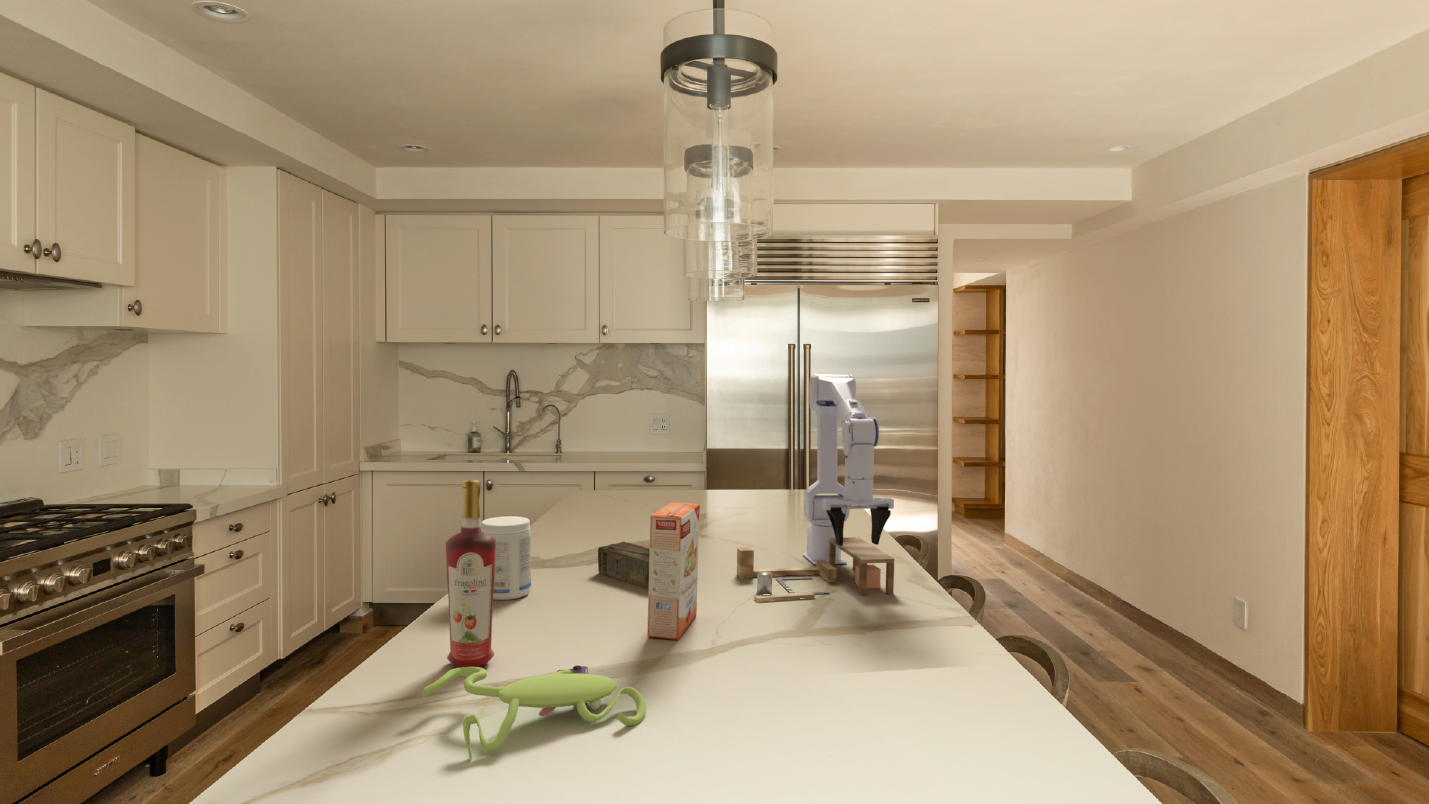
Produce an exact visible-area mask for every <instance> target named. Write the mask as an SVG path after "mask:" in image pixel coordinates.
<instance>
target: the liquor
mask: <svg viewBox="0 0 1429 804" xmlns="http://www.w3.org/2000/svg"><path fill="white" fill-rule="evenodd" d="M480 494H481V480H478V479H466V480H462V481H461V496H462V500H463V501H462V502H463V503H462V504H463V505H462V513H461V514H462V515H461V525H460V532H458V533H456V534H454V535H452V536H451V537H449V538H448V539H447V540H446V541H445V554H446V555H445V557H446V558H445V560H446V561H445V562H446V580H447V582H446V583H447V595H448V596H447V599H448V616H449V620H448V621H449V649H450V650H449V653H448V655H447V657H446V660H447V661H449V662H450V663H451V664H452V666H453V665H454V667H456V668H461V667H480V668H483V667H485V666H486V665H487V664H488V663H489V662H490V660H492V658H493V657H494V656H495V652H494V651H493V649H492V638H493V637H492V632H493V631H492V630H493V629H492V628H493V607H494V606H493V605H494V604H493V603H494V599H493V591H494V577H495V554H496V539H494V538H493V537H492V536H491V535H489V534H487V533H484V532H482V531H481V523H482V519H481V512H480V511H481V510H480V498H481V497H480Z"/></svg>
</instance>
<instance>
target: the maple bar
mask: <svg viewBox="0 0 1429 804" xmlns="http://www.w3.org/2000/svg"><path fill="white" fill-rule="evenodd" d="M812 592H813V591H810V592H809V591H808V592H806V593H802V592H795V593H778V594H777V593H776V594H775V593H774V594H771V595H759V594H758V595H754V597H753V598H754V599H755V600H756V603H763V602H762V601H768V602H773V601H772V600H784V601H789V600H788V599H800V598H814V597H815V598H816V594H814V593H812ZM755 600H754V601H755ZM800 600H801V599H800Z"/></svg>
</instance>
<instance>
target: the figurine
mask: <svg viewBox="0 0 1429 804" xmlns="http://www.w3.org/2000/svg"><path fill="white" fill-rule="evenodd" d="M487 676H488V675H487V669H484V668H483V667H481V668H480V667H461V668H457V667H456V668H452V669H450V670H448V671H447V672H446V673H444V674H443V676H441V677H439V679H437V680H436V681H434V682H432V683H431V684H429V685H427V686H425V687H423V688H422V692H421V693H422V694H421V695H422V697H423V698H426V697H427V696H429V695H431V694H433V693H434V692H436V691H438V690H439V689H440V688H442V687H443V686H445V685H446V684H447V683H448V682H449V681H451V680H452V679H455V678H458V677H459V678H460V677H466V678H465V679H464V680H463V684H462V685H463V688H464V690H465V691H466V692H467V693H469V694H472V695H476V696H485V697H492V698H499V700H500V701H501V702H503V703H505V704H508V710H507V712H506V715H505V718H504V719H503V720H502V723H501V725H500V727H499V730H498V733H496V735H495V736H494V738H493V739H492V740H489V741H487V740H486V738H485V736H484V735H483V731H482V726H481V723H480V719H479V718H478V716H477V715H476V714H475V713H471V714H469V715H465V716H464V719H463V724H462V729H463V736H464V741H465V743H466V747H467V752H468V759H469V762H470V763H471V762H472V760H473V753H472V751H473V750H472V746H471V737H470V735H471V734H470V733H471V732H470V730H471V725H473V724H476V725H477V727H478V735H479V737H478V738H479V741H480V747H481V748H483V749H484V750H485V752H487V753H489V752H492V751H496V750H498V749H500V747H501V746H502V744H503V743H504V742H505V741H506V738H507V736H508V734H509V733H510V730H511V728H512V727H513V724H514V723H515V720H516V717H517V713H518V709H519V707H525V708H534V709H537V708H538V709H541V708H542V709H541V710H540V711H539V713H538V715H539V717H545V716H547V715H548V714H550V713H552V711H553V710H555V709H556V708H564V707H571V706H573V708H574V709H575V710H577V712H578V714H579V715H578V716H580V717H581V718H582V719H583V720H584V721H586V722H589V723H594V722H598V721H600V720H601V719H602V718H604V717H605V716H606V715H607V714H608V713H609V712H610V711H611V710H612V708H613V707H614V705H616V702H617V700H618V699H619V695H621V694H626V695H627V696H629V697H631V699H632V700H633V701H634V703H635V705H636V715H634V716H632V717H628V716H627V715H625V714H624V713H622V712H618V713H617V716H616V718H617V720H618V721H619V722H620V723H621V724H623V725H624V726H628V727H629V726H630V727H632V726H636V725H637V724H640V723H641V722H642V721H643V720H644V719H645V716H646V702H645V699H644V698H643V695H642V694H641V693H640V691H638V690H637V689H635V688H634V687H632V686H625V687H623V688H621V689H620V690H618V692H616V694H615V695H614V696H613V698H612V700H611V701H610V702H609V704H608V705H607V706H606V707H605V708H604V709H603V711H601V712H600V713H597V714H595V713H593V712H591V711H589V709H588V708H587V705H586V703H587V704H588V705H589V707H590V709H592V710H595V711H596V710H597V709H599V708H600V707H601V705H602V702H601V701H602V700H601V699H603V698H605V697H608V696H611V694H612V693H614V691H616V689H618V684H617V682H616V681H615V680H614V679H612V678H611V677H607V676H604V675H599V674H590V673H589V668H588V666H585V665H575V666H573V667H572V668H570V669H559V670H557V672H554V673H552V674H544V675H538V676H534V677H529V678H524V679H519V680H518V681H515V682H512V683H510V684H509V683H508V684H507V685H506V686H504V687H503V686H502V687H501V686H499V687H497V686H496V687H495V686H487V685H479V684H475V683H477V682H479V681H482V680H484V679H486V678H487Z"/></svg>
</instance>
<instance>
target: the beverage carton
mask: <svg viewBox="0 0 1429 804" xmlns="http://www.w3.org/2000/svg"><path fill="white" fill-rule="evenodd" d="M649 554H650V547H645V546H642V545H639V544H635V543H631V542H628V541H627V542H626V541H621V542H618V543H611V544H609V545H603V546H599V547H598V549H597V559H598V560H597V565H598V574H601V575H603V576H606V577H610V578H613V579H617V580H619V581H623V582H626V583H628V584H629V583H630V584H632V585H636V586H638V587H642V588H646V589H649Z"/></svg>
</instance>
